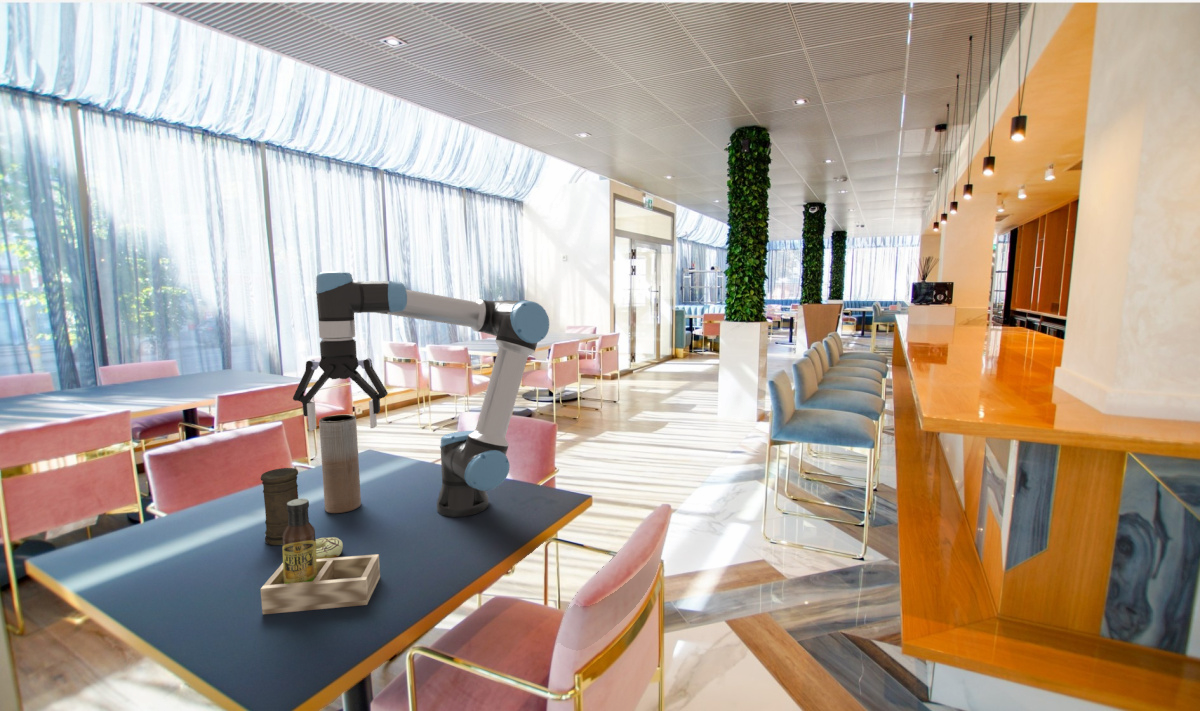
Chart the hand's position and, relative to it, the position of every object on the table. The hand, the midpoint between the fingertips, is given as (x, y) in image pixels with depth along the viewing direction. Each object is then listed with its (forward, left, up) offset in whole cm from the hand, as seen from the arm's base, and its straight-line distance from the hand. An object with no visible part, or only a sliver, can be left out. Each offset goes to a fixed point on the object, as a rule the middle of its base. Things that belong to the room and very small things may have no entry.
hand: (343, 428), depth 125 cm
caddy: (+1, +16, -33) cm, 36 cm away
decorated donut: (+8, -2, -33) cm, 34 cm away
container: (+21, -15, -33) cm, 42 cm away
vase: (+12, -34, -33) cm, 49 cm away
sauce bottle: (+6, +15, -32) cm, 36 cm away
